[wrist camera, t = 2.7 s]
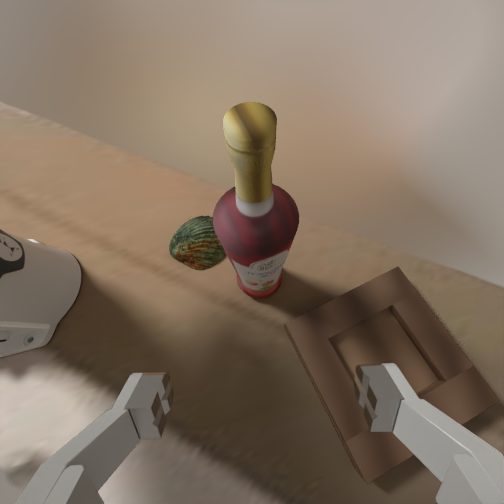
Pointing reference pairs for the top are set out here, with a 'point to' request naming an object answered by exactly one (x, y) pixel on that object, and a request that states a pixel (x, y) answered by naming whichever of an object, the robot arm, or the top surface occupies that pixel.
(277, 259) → the liquor
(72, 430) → the top surface
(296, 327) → the plinth
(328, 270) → the top surface
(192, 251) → the seashell
